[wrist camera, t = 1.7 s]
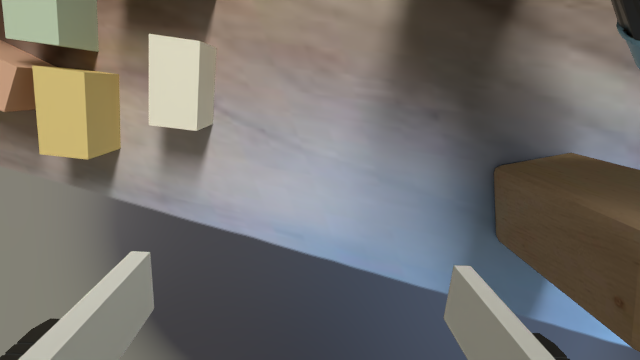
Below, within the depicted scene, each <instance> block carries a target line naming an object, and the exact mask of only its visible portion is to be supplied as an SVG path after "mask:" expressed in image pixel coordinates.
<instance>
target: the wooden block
mask: <svg viewBox="0 0 640 360" xmlns="http://www.w3.org/2000/svg"><path fill="white" fill-rule="evenodd" d="M494 192H495V220H496V236H497V238H498V240H499V241H500V242H501V243H502V244H503V245H505V246H506V247H507V248H508V249H510V250H511V251H512V252H513V253H515V254H516V255H517V256H518V257H520V258H521V259H522V260H523V261H525V262H526V263H527V264H528V265H530V266H531V267H532V268H533V269H535V270H536V271H537V272H538V273H540V274H541V275H542V276H543V277H545V278H546V279H547V280H548V281H550V282H551V283H552V284H553V285H555V286H556V287H557V288H558V289H560V290H561V291H562V292H563V293H565V294H566V295H567V296H568V297H570V298H571V299H572V300H573V301H575V302H576V303H577V304H578V305H580V306H581V307H582V308H583V309H585V310H586V311H587V312H588V313H590V314H591V315H592V316H593V317H595V318H596V319H597V320H598V321H600V322H601V323H602V324H603V325H605V326H606V327H607V328H608V329H610V330H611V331H612V332H613V333H615V334H616V335H617V336H618V337H620V338H621V339H622V340H623V341H625V342H626V343H627V344H628V345H630V346H631V347H632V348H633V349H635V350H637V351H639V352H640V170H637V169H633V168H629V167H625V166H621V165H617V164H613V163H609V162H605V161H602V160H598V159H594V158H590V157H586V156H582V155H578V154H574V153H567V154H562V155H556V156H550V157H545V158H539V159H534V160H528V161H523V162H517V163H512V164H506V165H501V166H499V167H497V168H495V171H494Z"/></svg>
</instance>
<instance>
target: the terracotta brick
mask: <svg viewBox="0 0 640 360" xmlns="http://www.w3.org/2000/svg"><path fill="white" fill-rule="evenodd" d="M32 66H46V67H56V66H54V65H52V64H49V63H47V62H45V61H43V60H41V59H39V58H37V57H35V56H33V55H31V54H29V53H27V52H25V51H23V50H20V49H18V48H16V47H14V46H12V45H10V44H8V43H6V42H4V41H2V40H0V111H3V112H11V111H22V110H33V109H36V105H35V93H34V81H33V69H32Z"/></svg>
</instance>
